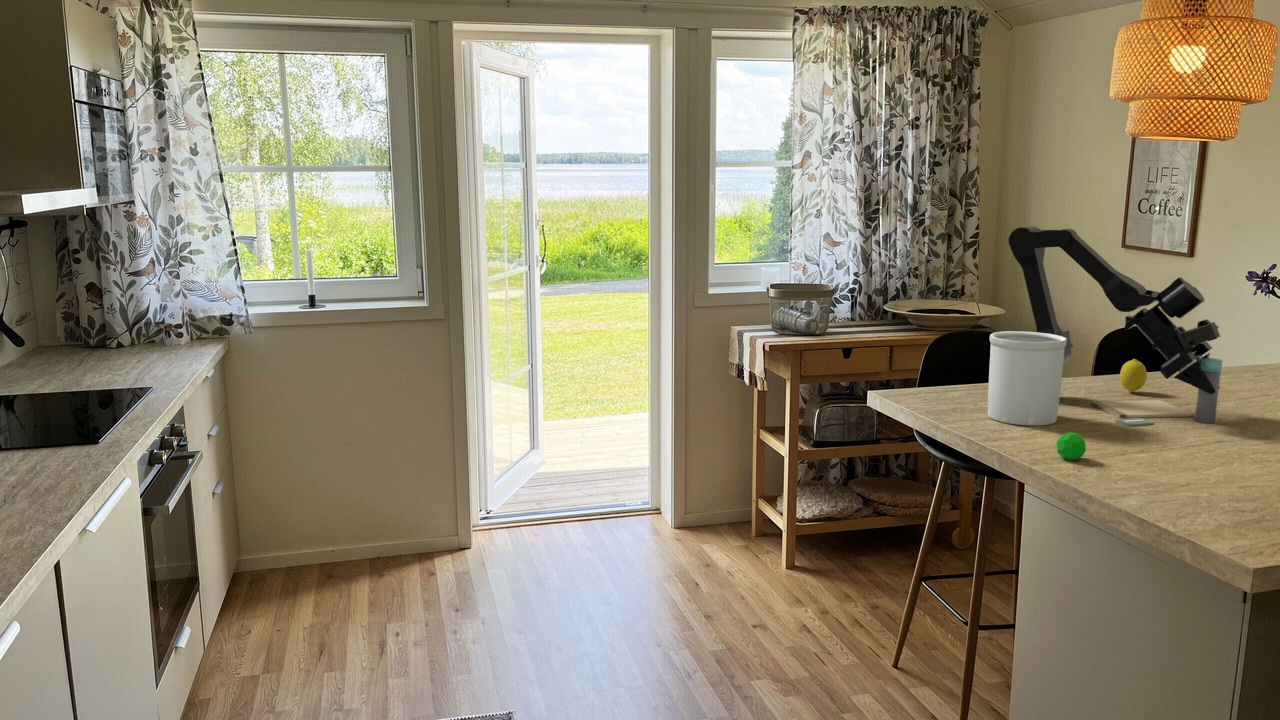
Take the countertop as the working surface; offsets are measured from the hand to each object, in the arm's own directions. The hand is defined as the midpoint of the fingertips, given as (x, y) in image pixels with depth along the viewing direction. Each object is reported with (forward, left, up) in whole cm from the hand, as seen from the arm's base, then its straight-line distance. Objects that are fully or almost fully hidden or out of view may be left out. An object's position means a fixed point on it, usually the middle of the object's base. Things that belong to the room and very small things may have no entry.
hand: (1216, 391), depth 199 cm
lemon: (-2, +27, -7) cm, 28 cm away
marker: (-1, +1, -7) cm, 7 cm away
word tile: (-16, +1, -7) cm, 17 cm away
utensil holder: (-37, +7, -7) cm, 38 cm away
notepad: (-9, +11, -7) cm, 16 cm away
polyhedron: (-41, -22, -7) cm, 47 cm away
